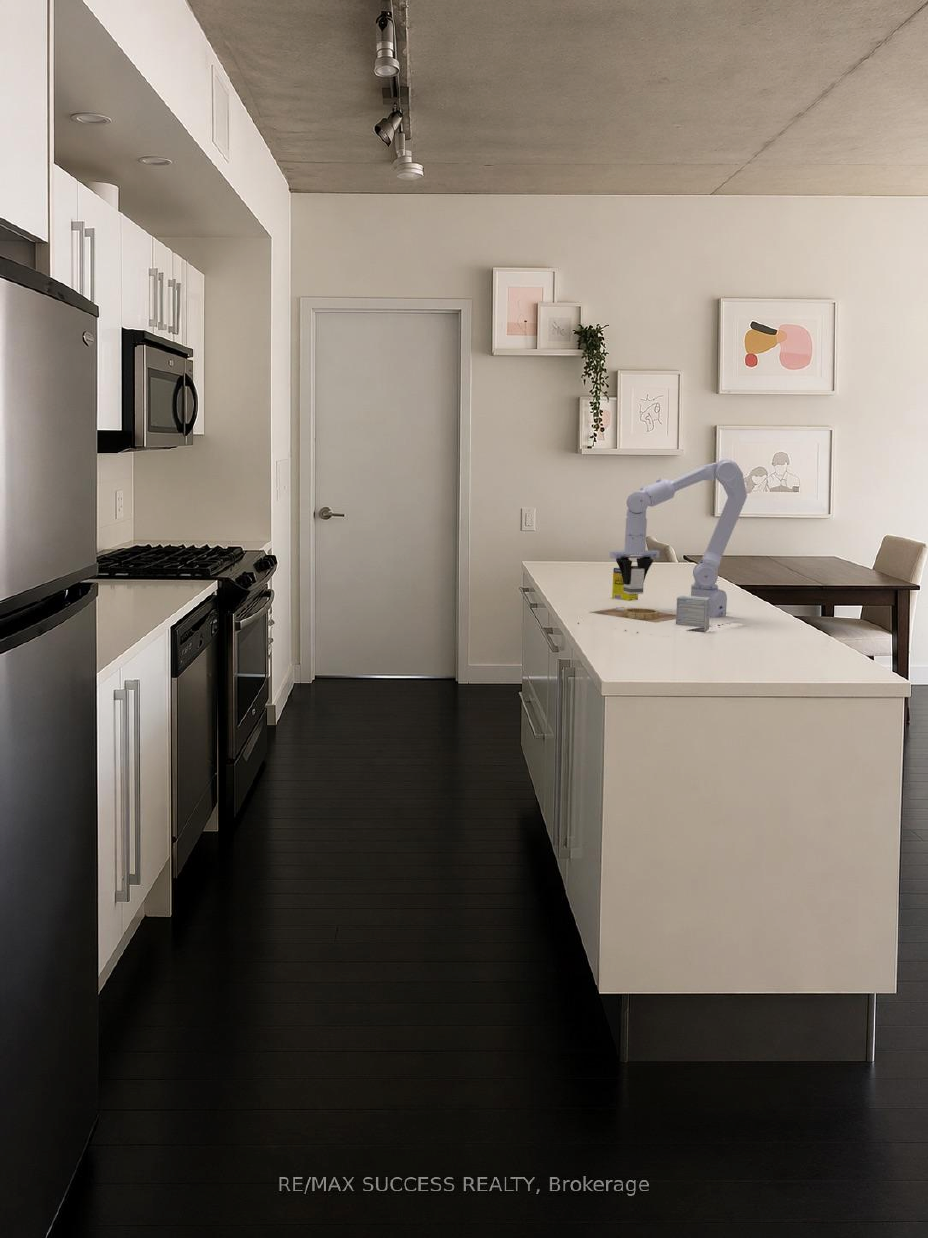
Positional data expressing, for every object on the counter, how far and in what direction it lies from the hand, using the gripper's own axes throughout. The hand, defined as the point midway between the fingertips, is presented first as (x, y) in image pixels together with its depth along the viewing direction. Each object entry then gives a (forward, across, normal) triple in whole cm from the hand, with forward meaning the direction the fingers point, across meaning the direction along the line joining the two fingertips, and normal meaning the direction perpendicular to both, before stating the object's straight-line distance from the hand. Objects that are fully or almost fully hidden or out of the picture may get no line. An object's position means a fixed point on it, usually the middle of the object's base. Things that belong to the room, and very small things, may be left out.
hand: (633, 584), depth 316 cm
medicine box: (+9, +4, -25) cm, 27 cm away
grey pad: (+8, 0, 0) cm, 8 cm away
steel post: (+2, 0, 0) cm, 3 cm away
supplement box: (+9, +10, +23) cm, 27 cm away
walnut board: (+9, -1, -6) cm, 11 cm away
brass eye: (+8, -3, -10) cm, 13 cm away
